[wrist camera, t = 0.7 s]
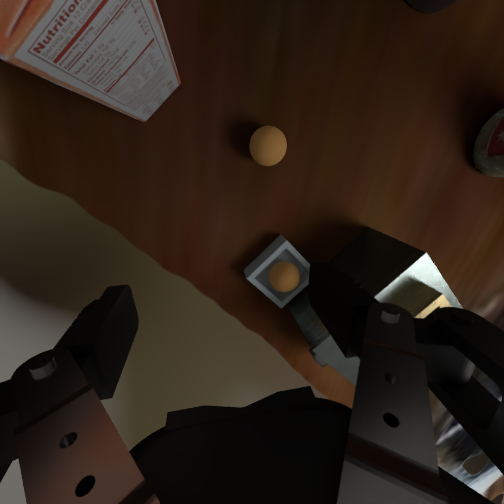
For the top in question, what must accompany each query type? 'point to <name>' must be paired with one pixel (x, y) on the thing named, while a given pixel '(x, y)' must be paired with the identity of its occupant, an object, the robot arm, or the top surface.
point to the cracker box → (93, 49)
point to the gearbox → (375, 291)
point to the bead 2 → (284, 276)
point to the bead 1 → (268, 145)
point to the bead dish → (264, 262)
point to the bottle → (490, 146)
